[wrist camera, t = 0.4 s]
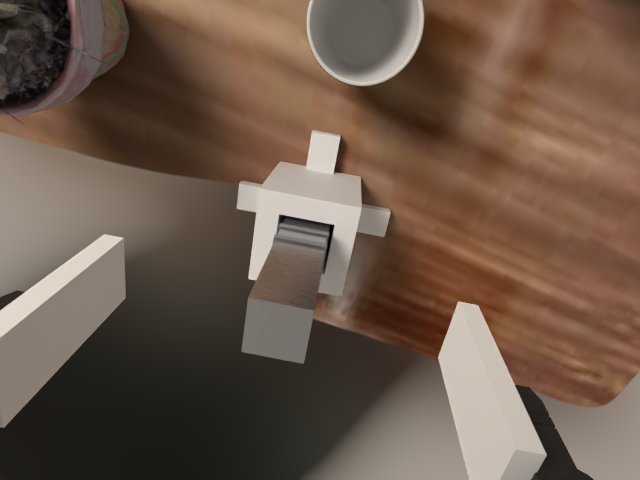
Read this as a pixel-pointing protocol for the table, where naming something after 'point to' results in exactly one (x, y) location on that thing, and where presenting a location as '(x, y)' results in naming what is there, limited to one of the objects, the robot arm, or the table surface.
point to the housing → (312, 208)
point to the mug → (364, 37)
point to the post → (286, 291)
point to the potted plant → (56, 50)
